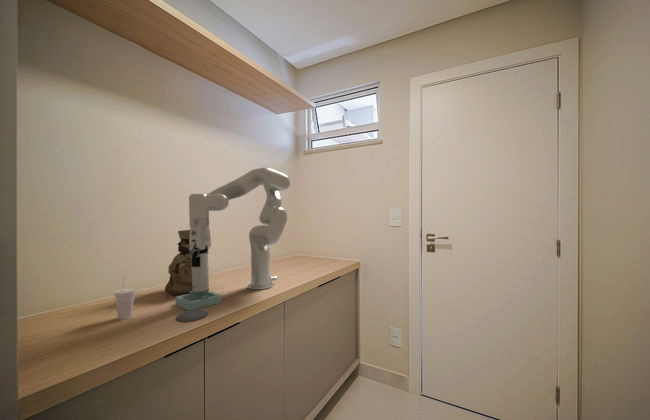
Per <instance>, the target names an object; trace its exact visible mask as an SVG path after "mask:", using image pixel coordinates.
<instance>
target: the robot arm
mask: <svg viewBox="0 0 650 420" xmlns="http://www.w3.org/2000/svg"><path fill="white" fill-rule="evenodd" d="M260 186H263V188H264V191H265V194H266V200H265V203H264V205H263V206H262V208H261V209H262V210H261V211H260V213H259V222H260V223H261V224H262V225H256V226H254V227H252V228H251V229H250V230H249V234H248V240H249V245H250V283H248V285H247V289H249V290H257V291H258V290H266V289H267V290H268V289H270V288H272V287H273V286H274V283H273V281H277V280H278V277H277V276H270V275H271V265H270V264H271V262H270V261H271V255H270V254H271V250H270V247H269V246H273V245H276V244H277V243H278V242H279V241H280V238H281V236H282V234H283V231H284V229H285V226H286V224H287V220H288V215H287V211H286V209H285V208H283V207H282V203H283V199H282V196H281V194H280V191H282V192H283V191H286V190H288V189H289V187H290V186H291V179H290V178H289V177H288V175H286V174H284V173H282V172H279V171H277V170H275V169H273V168H269V167H259V168H255V169H251V170H250V171H248V172H247V173H245V174H243V175H241V176H239V177H238V178H236V179H234V180H232V181H230V182H228V183H225V184H224V185H222V186H220V187H217V188H215V189H213V190H212V191H210V192H209V193H192V194H189V197H188V207H189V208H188V210H189V211H188V213H189V215H188V216H189V230H190V237H189V246H190V248H189V251H190V254H191V257H192V267H200V257H199V254H200V250H204V249H205V246H208V250H207V251H208V252H209V248H211V246H212V240H211V230H210V229H211V228H210V211H211V212H219V211H223V210H225V209H226V208H227V207H228V206H229V203H230V200H234V199H237V198H241V197H243V196H246V195H247V194H249V193H250V192H251V191H253V190H255V189H256V188H258V187H260ZM194 248H198V249H194ZM196 251H197V253H196Z"/></svg>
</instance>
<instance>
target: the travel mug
mask: <svg viewBox="0 0 650 420" xmlns="http://www.w3.org/2000/svg"><path fill="white" fill-rule="evenodd" d="M194 249H198V248H194ZM207 250H208V251H207ZM196 253H197V251H196ZM199 257H200V267H192V289H193V294H203V293H206V292H208V291H210V288H209V287H210V284H209V282H210V281H209V280H210V279H209V270H208V269H209V249H208V246H205V249H204V250H200V254H199Z"/></svg>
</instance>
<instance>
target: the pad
mask: <svg viewBox="0 0 650 420" xmlns="http://www.w3.org/2000/svg"><path fill="white" fill-rule="evenodd" d="M207 316H208V311H207V310H204V309H195V310H191V311H188V310H186V311H184V312H181V313H179V314H178V315H176V321H177V322H180V323H181V322H182V323H189V322H195V321H199V320H202V319H204V318H206V317H207Z"/></svg>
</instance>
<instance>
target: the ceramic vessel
mask: <svg viewBox="0 0 650 420" xmlns="http://www.w3.org/2000/svg"><path fill="white" fill-rule="evenodd" d="M177 234H178V237H179V239H180V241H179V242H178V243H176V244H177V246H178V247H177V250H178V252H179V253H178V254H176V255H175V256H174V258H173V259H172V261H171V263H170V264H169V265H168V271H167V273H168V274H169V280H168V282H167V283H166V285H165V286H164V291H165V292H166V293H167V294H168V295H169V294H170V295H172V296H175V297H177V296H182V295H186V294H190V291H193V289H192V257H191V254H190V251H189V248H190V246H189V237H190V229H184V230H178V231H177ZM209 270H210V268H208V271H209Z"/></svg>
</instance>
